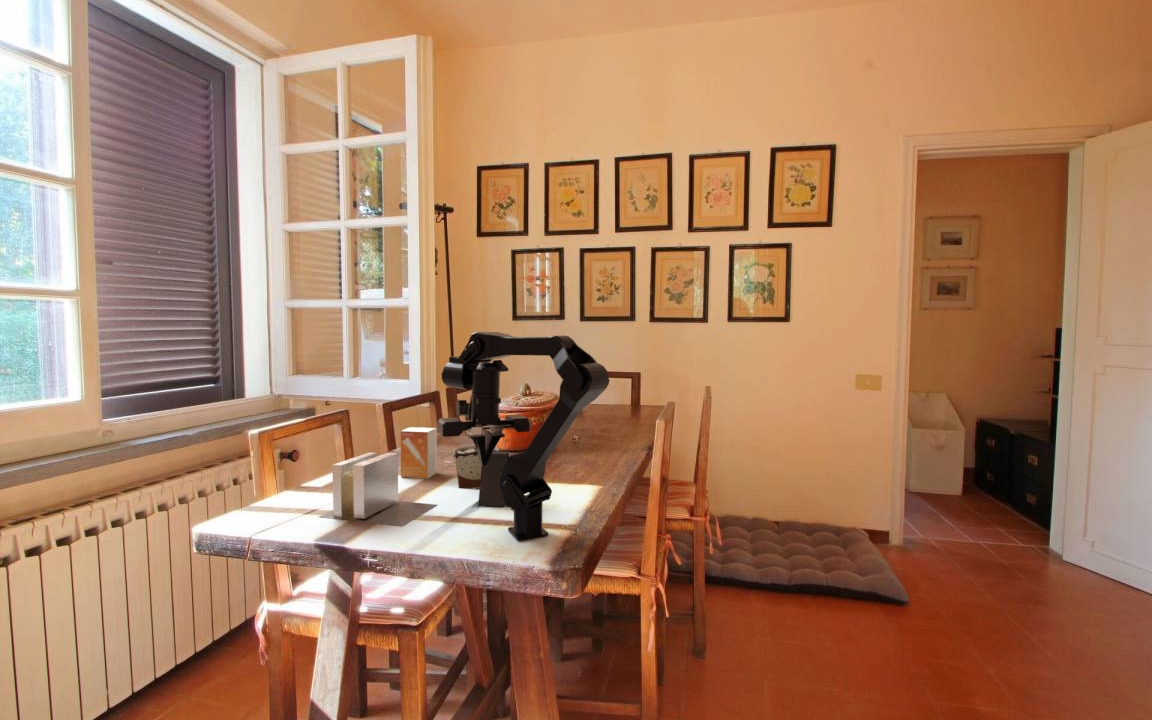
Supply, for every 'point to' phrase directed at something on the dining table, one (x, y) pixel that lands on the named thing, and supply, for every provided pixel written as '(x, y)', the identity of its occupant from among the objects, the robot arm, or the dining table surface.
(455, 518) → the dining table surface
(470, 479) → the brown cake slice
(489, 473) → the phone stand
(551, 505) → the dining table surface
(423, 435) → the small box
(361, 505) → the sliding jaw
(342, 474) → the vise base
